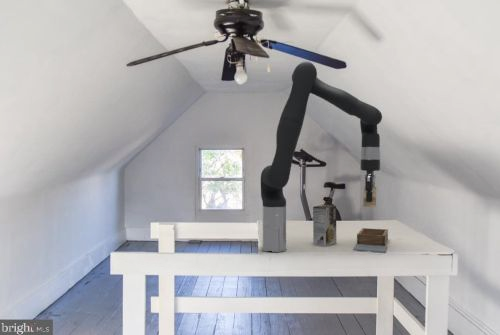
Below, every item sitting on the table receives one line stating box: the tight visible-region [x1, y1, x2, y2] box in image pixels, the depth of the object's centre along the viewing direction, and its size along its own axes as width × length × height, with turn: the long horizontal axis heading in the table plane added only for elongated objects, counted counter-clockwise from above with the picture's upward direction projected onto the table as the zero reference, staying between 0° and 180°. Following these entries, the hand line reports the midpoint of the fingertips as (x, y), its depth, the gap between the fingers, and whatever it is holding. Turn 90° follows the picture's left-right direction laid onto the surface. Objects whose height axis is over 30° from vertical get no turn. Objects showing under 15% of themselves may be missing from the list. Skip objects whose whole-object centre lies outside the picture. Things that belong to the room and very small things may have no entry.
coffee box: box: [312, 204, 337, 247], centre depth 181 cm, size 9×6×16 cm
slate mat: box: [352, 243, 388, 254], centre depth 170 cm, size 11×12×1 cm
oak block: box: [362, 185, 377, 208], centre depth 173 cm, size 4×4×8 cm
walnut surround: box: [356, 227, 389, 246], centre depth 185 cm, size 18×11×4 cm, turn 159°
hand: (369, 201), depth 172 cm, fingers closed on oak block, 4 cm apart
